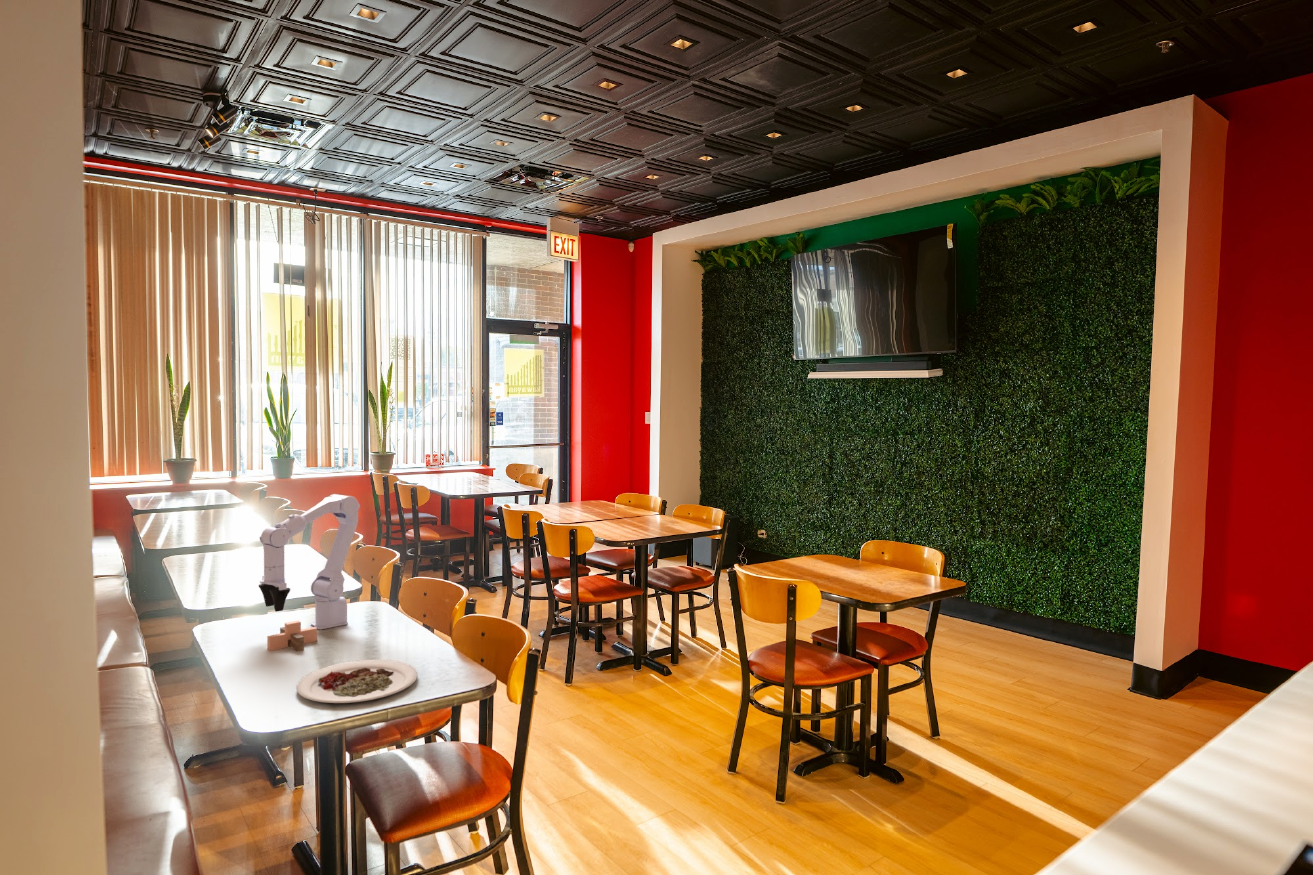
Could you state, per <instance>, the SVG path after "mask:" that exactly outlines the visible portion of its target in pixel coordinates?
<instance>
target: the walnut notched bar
mask: <svg viewBox="0 0 1313 875" xmlns="http://www.w3.org/2000/svg"><path fill="white" fill-rule="evenodd" d="M281 633H285V626H282V627H280V628H279V634H281ZM288 647H290V648H291V649H293V650H294V651H296V652H300V651H304V650H305V643H304V637H303V636H302V635H300V634H298V633H294V634H291V639H290V640H288Z"/></svg>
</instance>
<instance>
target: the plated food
mask: <svg viewBox="0 0 1313 875" xmlns="http://www.w3.org/2000/svg"><path fill="white" fill-rule="evenodd" d="M417 679H418V671H417V668H415V666H412V665H411V664H408V663H406V662H403V661H402V662H401V661H398V660H397V661H396V660H391V659H361V660H354V661H353V660H352V661H347V662H346V661H345V662H341V663H335V664H332V665H328V666H324V667H322V668H320V669H317V670H314V671H312V672H310V673H308V674H307V675H304V676H303V677H302V678H301V679H300V680H299V681H297V682H298V683H297V685H296V692H297V693H298V694H299V696H301V697H302V698H304V699H306V700H311V701H313V702H319V703H329V704H348V703H349V704H350V703H361V702H366V701H373V700H377V699H381V698H384V697H385V698H386V697H388V696H391V695H394V694H396V693H397V694H398V693H399V692H401V691H404V690H405V689H407V688H409V687H410V686H411V685H413V684H414V682H416V680H417Z"/></svg>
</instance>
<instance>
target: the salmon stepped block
mask: <svg viewBox="0 0 1313 875" xmlns="http://www.w3.org/2000/svg"><path fill="white" fill-rule="evenodd" d="M301 623H302V621H300V620H294V621H289V622H284V627H285V633H281V634H280V633H276V634H272V635H268V636H267V637H266V638H267V641H266V642H267V643H266V644H267V645H266V646H267V647H266V649H267V650H268V651H269V652H270V651H271V652H272V651H275V650H276V651H277V650H279V649H285V648H288V647H289V646H288V640H290V639H291V634H294V633H298V634H300V635H302V636H303V637H304V644H308V643H312V642H318V628H316V627H314V626H312V627H308V628H307V627H306V628H303V629H301V628H302V626H301Z"/></svg>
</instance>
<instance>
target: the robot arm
mask: <svg viewBox="0 0 1313 875" xmlns="http://www.w3.org/2000/svg"><path fill="white" fill-rule="evenodd" d="M360 508H361V504H360V503H359V501H358V499H357V498H356V497H355V496H354V495H353V496H352V495H343V494H338V493H333V494H330V495H329V496H327V497H324V498H323V500H322V501H320V502H319V503H317V504H316V505H314V506H313V507H311V508H309V509H308V510H307V511H304V512H303V513H302V514H296V513H295V514H290V515H288V516H287V517H288V518H286V519H285V520H283V521H281V522H280V523H279V522H276V524H275V526H274V527H273V526H269V527H267V528H265V529H264V530H263V531H262V533H261V536H259V541H260V543H261V544H262V546H263V575H262V580H260V581H259V584H258V588H259V589H260V591H261V592H262V596H263V600H264V604H265V607H273V608H274V612H281V611H284V609H285V608H284V607H285V603H286V599H287V597H288V595H289V593H290V592H291V588H290V587H287V582H286V578H285V546H286V545H287V543H288V541H289V540H290V539H291V538H294V537H295V536H296V535H297V534H299V533H301V532H303V531H304V530H306V528H307V524H309V523H312V522H313V521H315V520H317V519H319V518H321V517H323V516H325V515H326V514H332V515H333V516H334V517H335V518H336V520H337V521H338V523H339V526H338V529H337V531H336V533H335V538H334V540H333V541H332V542H333V543H332V546H331V548H330V552H329V555H328V558H327V560H326V563H325V566H324V568H323V569H322V570H320V571H319V572H318V573H317V576H316V578H314V580H313V581H312V583H311V585H310V591H311V593H312V595H313V596H314V599H315V602H314V604H315V606H314V607H315V609H314V610H315V617H314V620H315V621H314V622H311V623H310V626H312V627H316V628H317V630H325V629H330V628H334V627H340V626H344V625H345V626H346V625H348V624H349V622H348V602H347V600H346V598H345V597H344V596H342V595H343V593H344V583H345V577H344V575H343V568H344V566H345V563H346V560H347V557H348V553H349V551H350V548H351V545H352V542H353V540H354V539H353V538H354V535H355V533H356V531H357V528H358V524H359V510H360Z"/></svg>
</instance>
